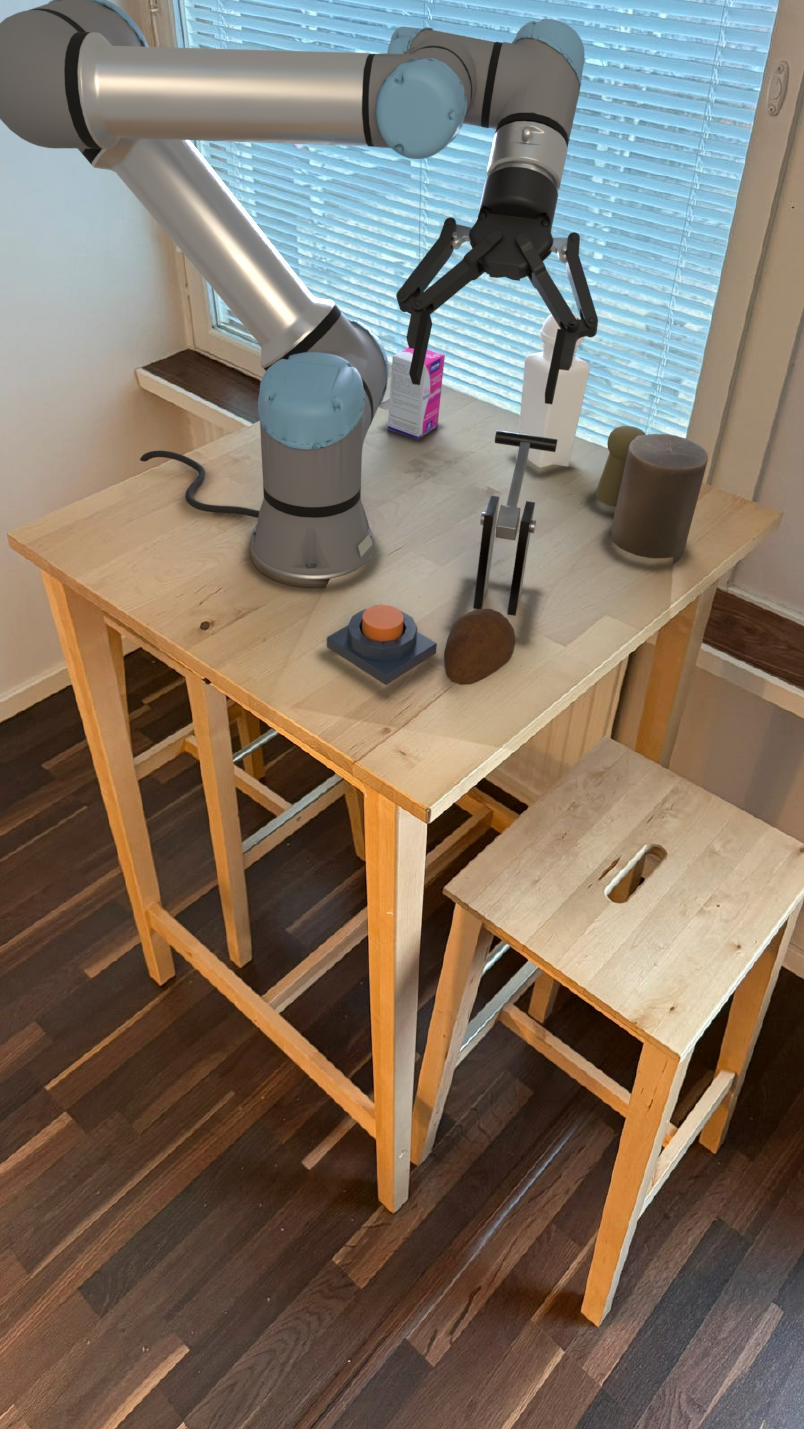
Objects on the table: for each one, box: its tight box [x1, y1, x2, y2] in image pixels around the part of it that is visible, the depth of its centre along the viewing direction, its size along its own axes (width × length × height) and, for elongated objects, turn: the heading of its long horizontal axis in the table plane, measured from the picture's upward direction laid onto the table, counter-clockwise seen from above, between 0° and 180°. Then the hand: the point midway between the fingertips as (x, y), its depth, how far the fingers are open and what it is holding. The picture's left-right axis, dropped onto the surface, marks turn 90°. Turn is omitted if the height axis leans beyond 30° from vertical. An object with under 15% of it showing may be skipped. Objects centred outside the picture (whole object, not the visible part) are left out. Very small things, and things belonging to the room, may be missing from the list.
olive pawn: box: [594, 425, 647, 507], centre depth 138 cm, size 6×6×11 cm
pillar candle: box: [609, 433, 709, 564], centre depth 128 cm, size 10×10×15 cm
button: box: [362, 604, 404, 642], centre depth 110 cm, size 4×4×2 cm
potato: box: [443, 608, 516, 686], centre depth 111 cm, size 7×10×7 cm
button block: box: [326, 608, 438, 686], centre depth 112 cm, size 9×8×4 cm
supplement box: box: [386, 347, 446, 440], centre depth 152 cm, size 6×6×12 cm
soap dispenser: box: [515, 311, 591, 468], centre depth 142 cm, size 6×6×22 cm
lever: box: [494, 429, 557, 541], centre depth 115 cm, size 13×7×2 cm, turn 166°
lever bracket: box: [472, 495, 537, 617], centre depth 117 cm, size 10×8×14 cm
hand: (480, 389), depth 102 cm, fingers open, 13 cm apart
